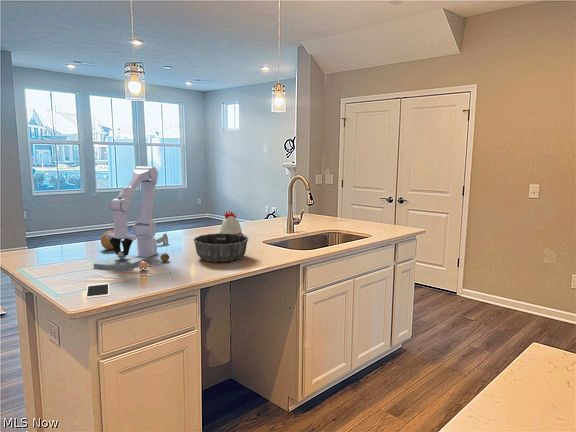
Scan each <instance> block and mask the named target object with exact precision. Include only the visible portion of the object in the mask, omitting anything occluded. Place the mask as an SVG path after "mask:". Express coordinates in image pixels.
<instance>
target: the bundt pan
mask: <svg viewBox="0 0 576 432" xmlns="http://www.w3.org/2000/svg"><path fill="white" fill-rule="evenodd" d="M193 242H194V247H195V251H196V254H197V256H198V257H199V258H200V259H201V260H203V261H208V262H214V263H218V262H221V263H225V262H233V261H237V260H239V259H241V258H243V257H244V256H245V254H246V252H247V245H248V242H249V237H247V236H245V235H239V234H229V233H227V234H223V233H220V232H219V233H208V234H201V235H198V236H194V238H193Z"/></svg>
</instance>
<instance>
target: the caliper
mask: <svg viewBox="0 0 576 432" xmlns="http://www.w3.org/2000/svg"><path fill="white" fill-rule="evenodd" d="M156 241H157V244H161V243H163V245H166V244H169V237H168V235H167V233H165V232H164V233H162V236H160V237H158V238H156Z"/></svg>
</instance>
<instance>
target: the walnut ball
mask: <svg viewBox="0 0 576 432" xmlns="http://www.w3.org/2000/svg"><path fill="white" fill-rule="evenodd" d="M159 257H160V258H159V259H160V260H161V261H162V262H164V263H165V262H168V261H169V260H170V255H169V254H168V253H166V252H164V253H161V255H160V256H159Z"/></svg>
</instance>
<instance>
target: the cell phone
mask: <svg viewBox="0 0 576 432" xmlns="http://www.w3.org/2000/svg"><path fill="white" fill-rule="evenodd" d="M110 295H111V294H110V282H102V283H92V284H87V286H86V293H85V299H94V298H102V297H109V296H110Z"/></svg>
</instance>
